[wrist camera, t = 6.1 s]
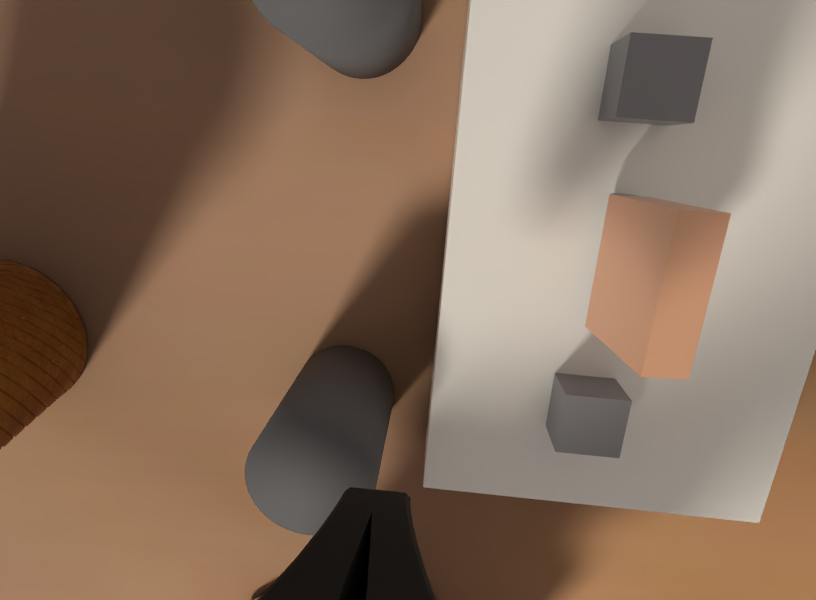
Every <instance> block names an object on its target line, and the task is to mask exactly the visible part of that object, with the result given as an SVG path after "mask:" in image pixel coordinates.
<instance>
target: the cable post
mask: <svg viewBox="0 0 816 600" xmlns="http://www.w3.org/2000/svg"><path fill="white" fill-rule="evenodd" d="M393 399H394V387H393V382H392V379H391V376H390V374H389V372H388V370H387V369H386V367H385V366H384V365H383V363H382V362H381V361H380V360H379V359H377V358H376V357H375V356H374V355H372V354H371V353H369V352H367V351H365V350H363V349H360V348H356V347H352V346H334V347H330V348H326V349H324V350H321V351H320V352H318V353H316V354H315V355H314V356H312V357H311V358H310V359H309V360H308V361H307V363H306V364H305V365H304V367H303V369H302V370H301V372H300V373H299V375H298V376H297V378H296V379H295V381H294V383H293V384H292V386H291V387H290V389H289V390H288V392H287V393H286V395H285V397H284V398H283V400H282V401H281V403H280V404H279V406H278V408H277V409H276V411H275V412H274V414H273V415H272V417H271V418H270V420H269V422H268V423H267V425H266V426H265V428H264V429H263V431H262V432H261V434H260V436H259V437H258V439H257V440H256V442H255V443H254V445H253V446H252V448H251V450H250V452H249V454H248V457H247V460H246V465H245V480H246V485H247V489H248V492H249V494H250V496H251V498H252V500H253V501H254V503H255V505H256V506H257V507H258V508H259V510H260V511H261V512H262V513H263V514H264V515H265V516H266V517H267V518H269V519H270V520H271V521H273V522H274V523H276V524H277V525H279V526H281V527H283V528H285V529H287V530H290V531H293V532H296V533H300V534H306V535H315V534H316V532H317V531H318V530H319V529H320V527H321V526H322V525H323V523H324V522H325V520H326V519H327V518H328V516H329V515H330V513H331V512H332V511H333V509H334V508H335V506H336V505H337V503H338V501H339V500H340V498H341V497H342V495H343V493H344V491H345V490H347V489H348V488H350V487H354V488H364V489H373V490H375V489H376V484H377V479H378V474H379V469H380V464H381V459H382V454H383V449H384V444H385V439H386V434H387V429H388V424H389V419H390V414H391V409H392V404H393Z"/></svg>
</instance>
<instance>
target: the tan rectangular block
mask: <svg viewBox="0 0 816 600" xmlns="http://www.w3.org/2000/svg"><path fill="white" fill-rule="evenodd" d="M730 216H731V213H727V212H722V211H717V210H712V209H707V208H702V207H697V206H692V205H687V204H682V203H677V202H672V201H667V200H662V199H657V198H652V197H642V196H638V195H631V194H621V193H611V194H609V199H608V205H607V210H606V215H605V221H604V226H603V232H602V237H601V243H600V248H599V253H598V259H597V264H596V270H595V275H594V280H593V286H592V291H591V297H590V302H589V308H588V313H587V318H586V324H585V327H586V328H587V329H589V330H590V331H591V332H592V333H593V334H594V335H595V336H596V337H597V338H598V339H599V340H601V341H602V342H603V343H604V344H605V345H606V346H607V347H608V348H609V349H610V350H612V351H613V352H614V353H615V354H616V355H617V356H618V357H619V358H620V359H621V360H622V361H624V362H625V363H626V364H627V365H628V366H629V367H630V368H631V369H632V370H633V371H635V372H636V373H637V374H638V375H639V376H640V377H646V378H666V379H685V380H689V377H690V373H691V370H692V366H693V362H694V358H695V354H696V350H697V346H698V342H699V338H700V334H701V330H702V326H703V322H704V318H705V314H706V311H707V307H708V303H709V299H710V295H711V291H712V287H713V283H714V279H715V275H716V271H717V267H718V263H719V259H720V255H721V252H722V248H723V244H724V240H725V236H726V232H727V228H728V224H729V220H730Z"/></svg>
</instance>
